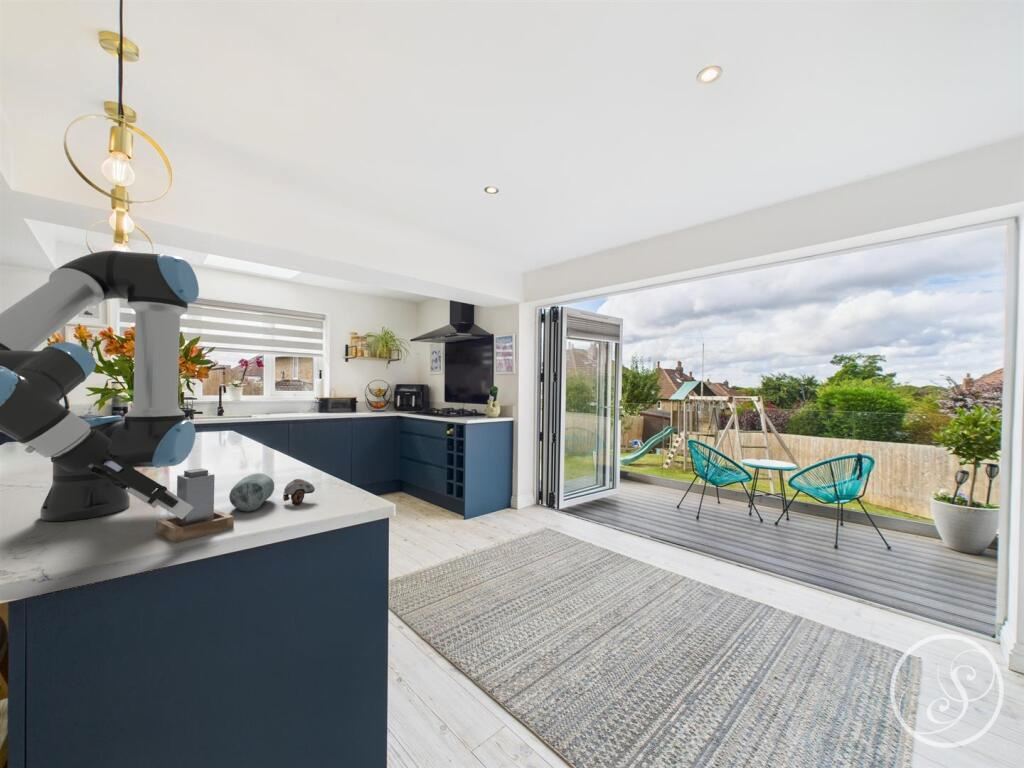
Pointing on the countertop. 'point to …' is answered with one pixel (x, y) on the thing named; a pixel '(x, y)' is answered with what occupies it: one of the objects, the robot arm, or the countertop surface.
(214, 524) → the tray
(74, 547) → the countertop surface
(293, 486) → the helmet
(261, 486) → the mottled river stone
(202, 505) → the grey upright rectangular pillar
